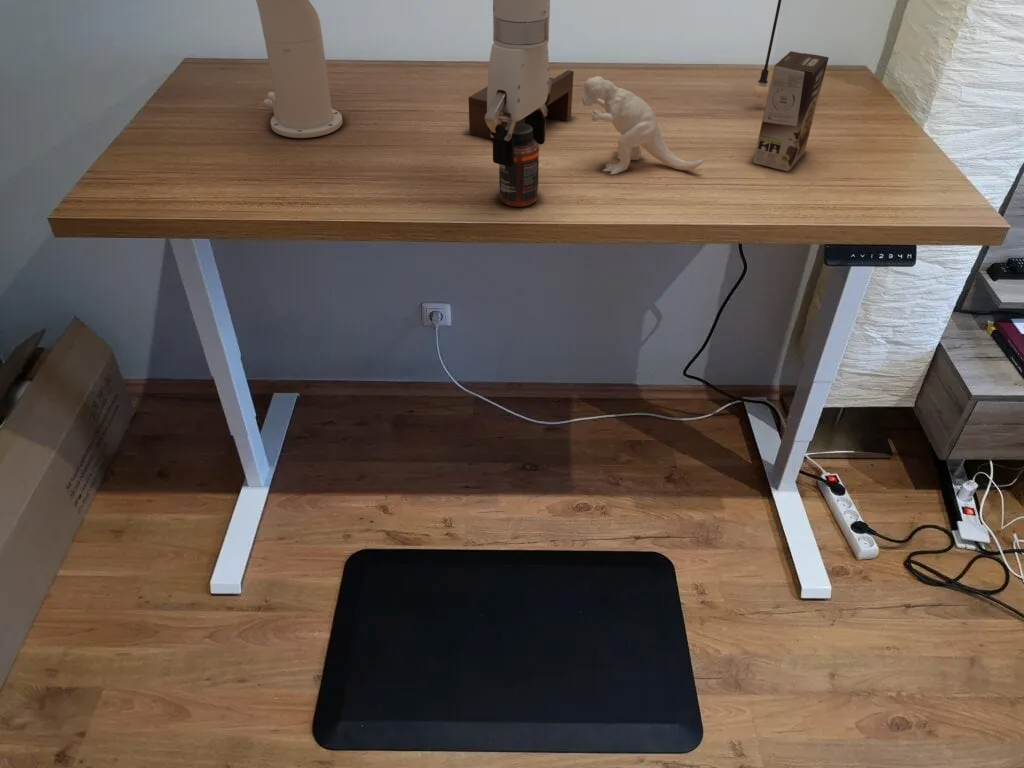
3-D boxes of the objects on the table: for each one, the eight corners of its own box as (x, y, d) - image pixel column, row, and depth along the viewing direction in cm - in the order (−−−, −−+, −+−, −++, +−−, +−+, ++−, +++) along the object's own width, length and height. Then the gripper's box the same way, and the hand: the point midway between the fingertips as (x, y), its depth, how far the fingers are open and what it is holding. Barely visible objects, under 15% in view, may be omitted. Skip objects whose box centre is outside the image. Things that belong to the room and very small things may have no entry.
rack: (469, 134, 142) (468, 85, 137) (515, 105, 153) (515, 59, 147) (528, 148, 138) (529, 99, 132) (571, 118, 148) (573, 70, 143)
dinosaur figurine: (575, 172, 131) (581, 80, 121) (583, 148, 138) (589, 60, 129) (700, 184, 128) (716, 91, 118) (701, 159, 135) (716, 69, 126)
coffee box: (789, 172, 131) (814, 72, 121) (751, 163, 134) (772, 64, 124) (805, 153, 137) (830, 56, 127) (769, 144, 140) (790, 49, 130)
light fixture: (732, 107, 153) (759, -38, 137) (755, 99, 156) (784, -43, 140) (759, 118, 149) (790, -30, 133) (782, 110, 152) (816, -35, 136)
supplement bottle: (544, 195, 124) (546, 124, 117) (528, 211, 120) (530, 139, 113) (509, 187, 126) (509, 117, 119) (492, 203, 122) (492, 131, 115)
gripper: (528, 9, 115) (526, 127, 126) (461, 42, 103) (465, 169, 114) (575, 17, 112) (569, 138, 123) (512, 51, 100) (511, 181, 111)
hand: (519, 152), depth 118 cm, fingers open, 8 cm apart
